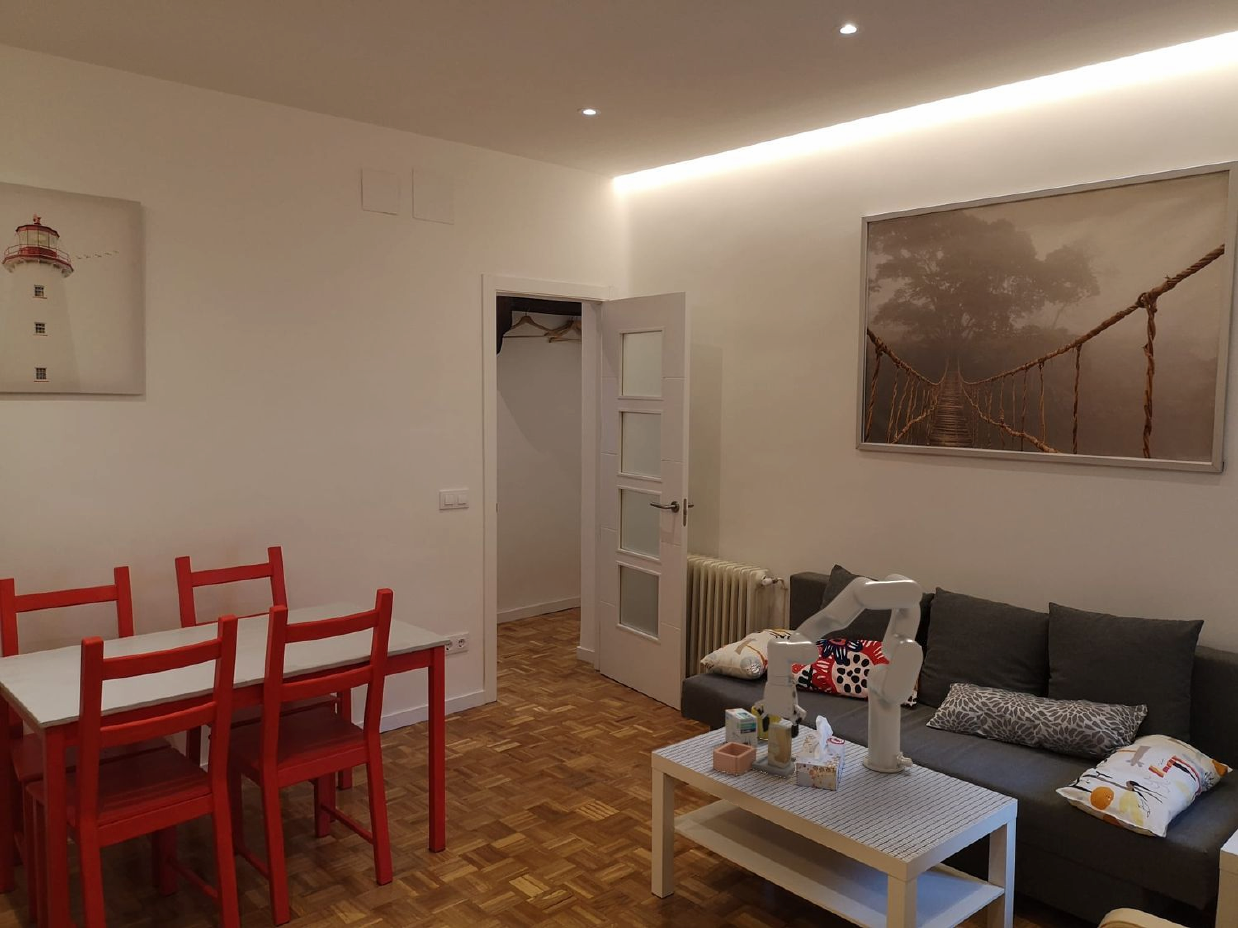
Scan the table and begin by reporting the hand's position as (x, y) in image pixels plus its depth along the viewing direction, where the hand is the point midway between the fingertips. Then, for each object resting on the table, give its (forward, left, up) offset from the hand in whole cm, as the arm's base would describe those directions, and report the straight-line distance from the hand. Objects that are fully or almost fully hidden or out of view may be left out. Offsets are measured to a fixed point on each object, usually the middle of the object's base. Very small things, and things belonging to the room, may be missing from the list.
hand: (780, 733), depth 273 cm
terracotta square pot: (+11, +8, -11) cm, 18 cm away
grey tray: (0, 0, -11) cm, 11 cm away
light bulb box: (+19, -10, -11) cm, 24 cm away
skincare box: (0, 0, -10) cm, 10 cm away
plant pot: (+16, -22, -11) cm, 29 cm away
